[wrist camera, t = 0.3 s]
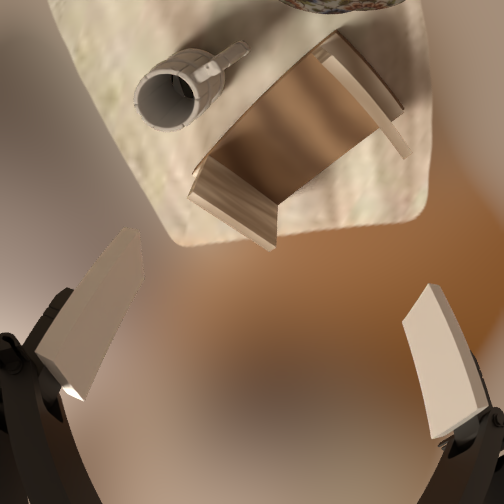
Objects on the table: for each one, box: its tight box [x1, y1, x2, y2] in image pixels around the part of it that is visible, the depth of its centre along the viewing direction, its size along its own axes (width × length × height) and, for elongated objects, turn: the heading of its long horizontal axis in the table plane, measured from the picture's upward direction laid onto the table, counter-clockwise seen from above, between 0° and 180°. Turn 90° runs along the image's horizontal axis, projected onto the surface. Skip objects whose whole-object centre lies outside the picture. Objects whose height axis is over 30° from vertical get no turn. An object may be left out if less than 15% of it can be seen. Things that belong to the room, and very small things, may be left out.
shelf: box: [187, 30, 412, 252], centre depth 29 cm, size 26×12×10 cm, turn 140°
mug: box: [134, 41, 250, 132], centre depth 22 cm, size 8×12×12 cm, turn 123°
